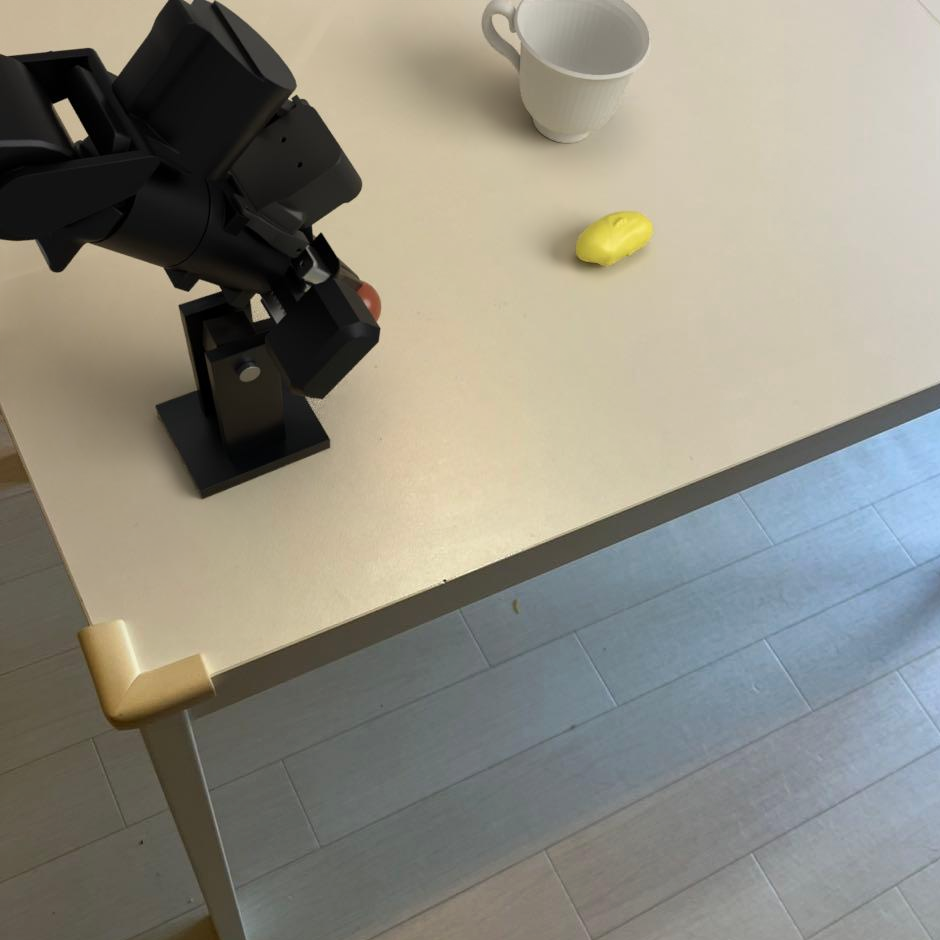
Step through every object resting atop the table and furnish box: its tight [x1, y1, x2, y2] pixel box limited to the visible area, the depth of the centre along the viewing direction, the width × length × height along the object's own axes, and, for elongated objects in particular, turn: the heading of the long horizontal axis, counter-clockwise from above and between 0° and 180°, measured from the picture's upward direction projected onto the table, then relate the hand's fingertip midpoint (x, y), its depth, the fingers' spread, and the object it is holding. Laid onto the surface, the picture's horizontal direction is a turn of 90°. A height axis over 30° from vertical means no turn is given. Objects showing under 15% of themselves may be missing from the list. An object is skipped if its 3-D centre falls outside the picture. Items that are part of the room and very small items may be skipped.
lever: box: [203, 279, 382, 351], centre depth 68 cm, size 12×4×4 cm, turn 121°
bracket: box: [154, 290, 331, 500], centre depth 70 cm, size 10×8×13 cm
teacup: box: [480, 0, 652, 144], centre depth 92 cm, size 12×15×10 cm
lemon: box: [575, 210, 654, 267], centre depth 88 cm, size 4×8×4 cm, turn 120°
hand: (356, 285), depth 69 cm, fingers closed, pressing on lever
